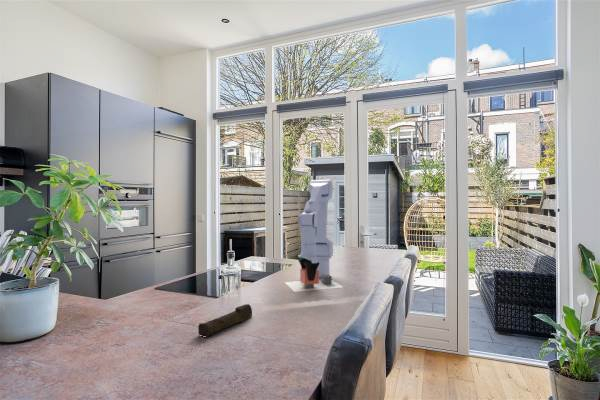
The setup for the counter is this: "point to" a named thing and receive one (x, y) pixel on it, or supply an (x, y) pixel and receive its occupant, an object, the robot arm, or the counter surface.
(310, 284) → the block
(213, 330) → the hand tool
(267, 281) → the counter surface
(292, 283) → the breaker panel
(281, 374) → the counter surface
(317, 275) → the coral red cube
